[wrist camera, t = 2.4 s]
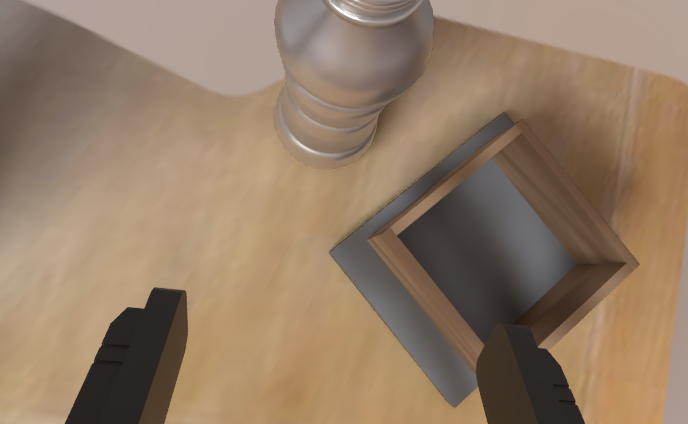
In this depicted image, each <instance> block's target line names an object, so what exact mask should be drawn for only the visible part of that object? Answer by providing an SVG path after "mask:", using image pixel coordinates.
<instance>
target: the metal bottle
mask: <svg viewBox="0 0 688 424" xmlns="http://www.w3.org/2000/svg"><path fill="white" fill-rule="evenodd" d="M274 23H275V32H276V40H277V47H278V50H279V53H280V56H281V59H282V62H283V66H284V69H285V76H286V82H285V85H284V87H283V88H282V90H281V92H280V94H279V96H278V99H277V102H276V105H275V110H274V123H275V128H276V131H277V135H278V137H279V139H280V140H281V142H282V144H283V146H284V147H285V148H286V149H287V151H288V152H289V153H290V154H291V155H292V156H293V157H294V158H295V159H297V160H298V161H300V162H301V163H303V164H305V165H307V166H310V167H313V168H318V169H335V168H339V167H343V166H346V165H348V164H350V163H352V162H354V161H356V160H357V159H358V158H360V157H361V156H362V155H363V154H364V153H365V152H366V151H367V150H368V148H369V147H370V145H371V143H372V141H373V139H374V135H375V132H376V128H377V123H378V116H379V113H380V112H381V111H382V110H383V109H384V108H385V107H386V106H387V105H388V104H390V103H391V102H392V101H394V100H395V99H397V98H398V97H399V96H401V95H402V94H403V93H405V92H406V91H407V90H408V89H409V88H410V87H411V86H412V85H413V84H414V83H415V82H416V81H417V79H418V78H419V77H420V76H421V75H422V73H423V72H424V70H425V68H426V66H427V64H428V62H429V59H430V56H431V52H432V49H433V36H434V17H433V10H432V7H431V4H430V1H429V0H278V3H277V6H276V12H275V21H274Z"/></svg>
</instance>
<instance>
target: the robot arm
mask: <svg viewBox="0 0 688 424" xmlns="http://www.w3.org/2000/svg"><path fill="white" fill-rule="evenodd" d="M187 335H188V320H187V296H186V291H185V290H175V289H165V288H156V287H155V288H153V290H152V291H151V294H150V296H149V298H148V301H147V303H146V306H145V308H144V309H141V308H130V307H127V308H126V309H125V310H124V311H123V312H122V313H121V314H120V315H119V316H118V317H117V318H116V319H115V320H114V321H113V322H112V323H111V324H110V326H109V328H108V331H107V333H106V335H105V337H104V339H103V342H102V346H101V347H100V348H99V350H98V352H97V355H96V357H95V359H94V363H93V364H92V366H91V368H90V370H89V372H88V374H87V376H86V379H85V381H84V383H83V385H82V387H81V390H80V392H79V394H78V396H77V398H76V400H75V403H74V405H73V407H72V409H71V411H70V414H69V416H68V418H67V420H66V422H65V424H164V422H165V419H166V415H167V412H168V408H169V405H170V401H171V398H172V394H173V391H174V388H175V384H176V381H177V377H178V374H179V370H180V367H181V363H182V360H183V357H184V353H185V348H186V343H187ZM476 379H477V384H478V388H479V391H480V395H481V399H482V403H483V407H484V411H485V414H486V418H487V422H488V424H585V422H584V420H583V418H582V415H581V413H580V410H579V408H578V406H577V405H575V399H574V396H573V394H572V392H571V389H569V388H568V387H569V385H568V382H567V380H566V378H565V375H564V373H563V371H562V368H561V366H560V365H559V364H558V362H557V361H556V360H555V359H554V358H553V356H552V355H551V354H550V353H549V352H548V350H547V349H545V348H538V347H537V344H536V342H535V339H534V336H533V334H532V332H531V330H530V329H529V328H528V327H527V326H521V325H511V324H501V323H499V324H497V325H496V326H495V327H494V329H493V331H492V332H491V334H490V336H489V338H488V340H487V342H486V344H485V345H484V347H483V349H482V351H481V353H480V355H479V357H478V359H477V363H476Z"/></svg>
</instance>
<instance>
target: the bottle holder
mask: <svg viewBox="0 0 688 424" xmlns="http://www.w3.org/2000/svg"><path fill="white" fill-rule="evenodd" d="M329 254H330V255H331V256H332V257H333V259H334V260H335V261H336V263H337V264H338V265H339V266H340V268H341V269H342V270H343V271H344V273H345V274H346V275H347V276H348V278H349V279H350V280H351V281H352V283H353V284H354V285H355V286H356V288H357V289H358V290H359V291H360V293H361V294H362V295H363V296H364V298H365V299H366V300H367V301H368V303H369V304H370V305H371V307H372V308H373V309H374V310H375V312H376V313H377V314H378V315H379V317H380V318H381V319H382V320H383V322H384V323H385V324H386V325H387V327H388V328H389V329H390V330H391V332H392V333H393V334H394V335H395V337H396V338H397V339H398V340H399V342H400V343H401V344H402V345H403V347H404V348H405V349H406V351H407V352H408V353H409V354H410V356H411V357H412V358H413V359H414V361H415V362H416V363H417V364H418V366H419V367H420V368H421V369H422V371H423V372H424V373H425V374H426V376H427V377H428V378H429V379H430V381H431V382H432V383H433V384H434V386H435V387H436V388H437V389H438V391H439V392H440V393H441V395H442V396H443V397H444V398H445V400H446V401H447V402H448V403H449V404H450V405H451V406H453V407H454V408H455V407H456V406H458V405H459V404H460V403H461V402H462V401H463V400H464V399H465V398H466V397H467V396H468V395H469V394H470V393H471V392H473V391H474V390H475V389H476V388H477V387H478V384H477V379H476V363H477V359H478V357H479V355H480V353H481V351H482V349H483V347H484V345H485V344H486V342H487V340H488V338H489V336H490V334H491V332H492V331H493V329H494V327H495V326H496V325H497V324H499V323H501V324H511V325H521V326H527V327H528V328H529V329H530V330H531V332H532V334H533V336H534V339H535V342H536V344H537V347H538V348H545V349H547V350H548V351H549V350H550V349H551V348H552V347H553V346H554V345H555V344H556V343H557V342H558V341H560V340H561V339H562V338H563V337H564V336H565V335H566V334H567V333H568V332H569V331H570V330H571V329H572V328H573V327H574V326H575V325H576V324H577V323H579V322H580V321H581V320H582V319H583V318H584V317H585V316H586V315H587V314H588V313H589V312H590V311H591V310H592V309H593V308H594V307H595V306H596V305H598V304H599V303H600V302H601V301H602V300H603V299H604V298H605V297H606V296H607V295H608V294H609V293H610V292H611V291H612V290H613V289H614V288H615V287H617V286H618V285H619V284H620V283H621V282H622V281H623V280H624V279H625V278H626V277H627V276H628V275H629V274H630V273H631V272H632V271H633V270H634V269H636V268H637V267H638V266H639V265H640V264H639V262H638V261H637V260H636V259H635V257H634V256H633V255H632V254H631V253H630V251H629V250H628V249H627V248H626V246H625V245H624V244H623V243H622V241H621V240H620V239H619V238H618V236H617V235H616V234H615V233H614V232H613V230H612V229H611V228H610V227H609V225H608V224H607V223H606V222H605V220H604V219H603V218H602V217H601V215H600V214H599V213H598V212H597V211H596V209H595V208H594V207H593V206H592V204H591V203H590V202H589V201H588V199H587V198H586V197H585V196H584V194H583V193H582V192H581V191H580V190H579V188H578V187H577V186H576V185H575V183H574V182H573V181H572V180H571V178H570V177H569V176H568V175H567V173H566V172H565V171H564V170H563V169H562V167H561V166H560V165H559V164H558V162H557V161H556V160H555V159H554V157H553V156H552V155H551V154H550V152H549V151H548V150H547V149H546V148H545V146H544V145H543V144H542V143H541V141H540V140H539V139H538V138H537V136H536V135H535V134H534V133H533V131H532V130H531V129H530V128H529V127H528V125H527V124H526V123H525V122H524V120H523V119H522V120H520V121H519V122H517V123H516V124H514V123H513V122H512V120H511V119H510V118H509V117H508V115H507V114H506V113H505V112H503V113H502V114H500V115H499V116H498V117H496V118H495V119H494V120H493V121H491V122H490V123H489V124H488V125H486V126H485V127H484V128H483V129H482V130H480V131H479V132H478V133H477V134H475V135H474V136H473V137H472V138H470V139H469V140H468V141H467V142H465V143H464V144H463V145H462V146H460V147H459V148H458V149H457V150H455V151H454V152H453V153H452V154H450V155H449V156H448V157H447V158H446V159H444V160H443V161H442V162H441V163H439V164H438V165H437V166H436V167H434V168H433V169H432V170H431V171H429V172H428V173H427V174H426V175H424V176H423V177H422V178H421V179H419V180H418V181H417V182H416V183H414V184H413V185H412V186H411V187H410V188H408V189H407V190H406V191H405V192H403V193H402V194H401V195H400V196H398V197H397V198H396V199H395V200H393V201H392V202H391V203H390V204H388V205H387V206H386V207H385V208H383V209H382V210H381V211H380V212H378V213H377V214H376V215H375V216H374V217H372V218H371V219H370V220H369V221H367V222H366V223H365V224H364V225H362V226H361V227H360V228H359V229H357V230H356V231H355V232H354V233H352V234H351V235H350V236H349V237H347V238H346V239H345V240H344V241H342V242H341V243H340V244H339V245H338V246H336V247H335V248H334V249H333V250H331V251H330V252H329Z"/></svg>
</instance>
